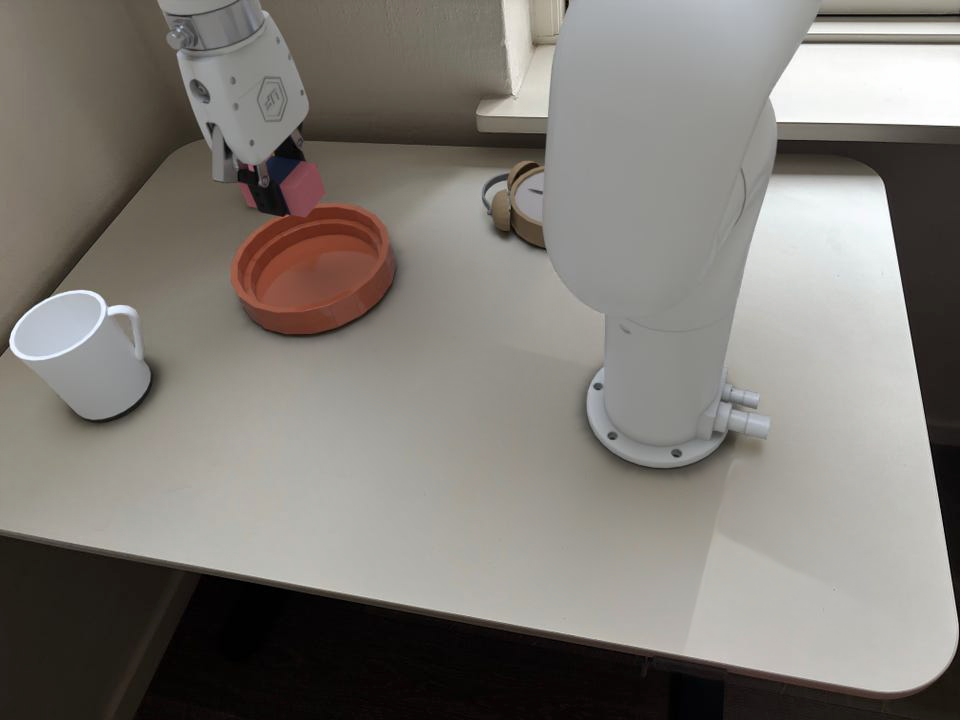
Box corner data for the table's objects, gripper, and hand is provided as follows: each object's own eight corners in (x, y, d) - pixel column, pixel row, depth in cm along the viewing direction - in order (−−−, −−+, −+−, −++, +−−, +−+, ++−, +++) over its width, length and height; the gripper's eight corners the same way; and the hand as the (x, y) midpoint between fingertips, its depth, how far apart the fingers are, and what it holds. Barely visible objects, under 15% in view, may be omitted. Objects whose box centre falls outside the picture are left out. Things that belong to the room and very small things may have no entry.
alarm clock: (594, 239, 76) (464, 196, 79) (586, 271, 80) (464, 229, 83) (625, 176, 82) (504, 139, 85) (616, 209, 86) (501, 172, 89)
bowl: (422, 243, 83) (415, 216, 80) (347, 353, 74) (336, 327, 70) (297, 219, 89) (287, 193, 86) (213, 318, 80) (198, 292, 77)
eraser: (326, 193, 73) (316, 162, 70) (305, 218, 70) (293, 187, 68) (270, 182, 75) (257, 152, 72) (248, 207, 73) (234, 176, 70)
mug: (72, 439, 71) (7, 374, 63) (71, 376, 76) (11, 310, 69) (181, 398, 72) (130, 330, 65) (172, 340, 78) (125, 271, 70)
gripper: (188, 74, 53) (271, 259, 67) (307, -26, 62) (358, 155, 76) (112, 64, 55) (208, 245, 69) (238, -30, 64) (300, 145, 78)
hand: (286, 196), depth 72 cm, fingers closed on eraser, 4 cm apart
